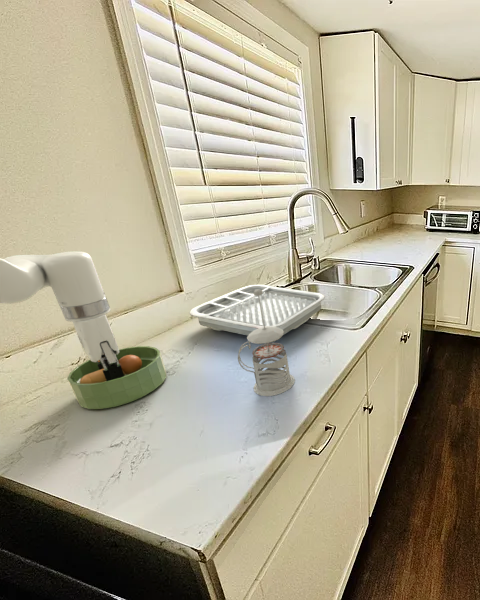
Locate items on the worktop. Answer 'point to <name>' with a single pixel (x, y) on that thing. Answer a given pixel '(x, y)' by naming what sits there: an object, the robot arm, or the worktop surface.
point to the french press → (272, 377)
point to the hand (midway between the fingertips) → (114, 378)
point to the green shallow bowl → (119, 380)
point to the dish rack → (258, 309)
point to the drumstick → (127, 364)
